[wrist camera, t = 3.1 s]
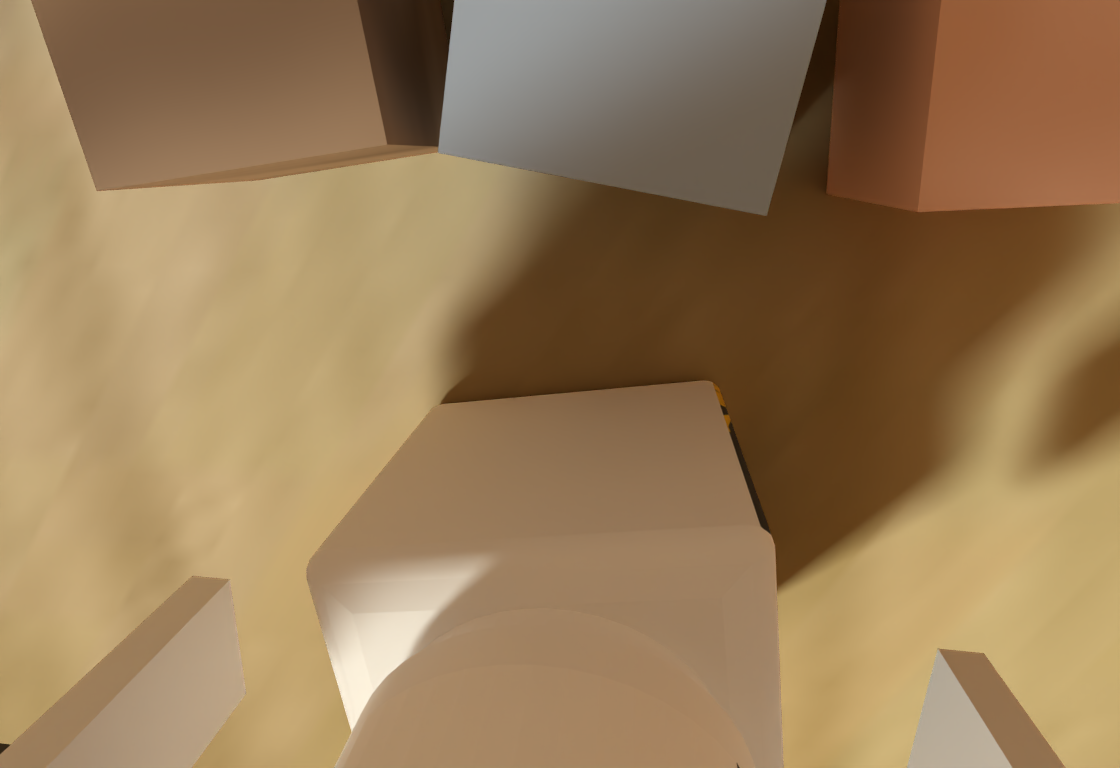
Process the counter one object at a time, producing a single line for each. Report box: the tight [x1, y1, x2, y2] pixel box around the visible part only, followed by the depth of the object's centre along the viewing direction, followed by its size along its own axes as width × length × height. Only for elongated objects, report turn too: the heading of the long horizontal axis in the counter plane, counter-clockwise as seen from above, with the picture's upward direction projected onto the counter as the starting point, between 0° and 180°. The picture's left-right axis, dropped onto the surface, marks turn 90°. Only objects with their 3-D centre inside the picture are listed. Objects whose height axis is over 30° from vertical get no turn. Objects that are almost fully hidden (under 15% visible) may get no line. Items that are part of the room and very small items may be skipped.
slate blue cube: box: [438, 0, 827, 216], centre depth 11 cm, size 5×5×5 cm
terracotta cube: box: [826, 0, 1120, 212], centre depth 11 cm, size 5×5×5 cm
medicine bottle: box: [307, 380, 784, 768], centre depth 12 cm, size 7×7×12 cm
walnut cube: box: [31, 0, 449, 191], centre depth 12 cm, size 5×5×5 cm
